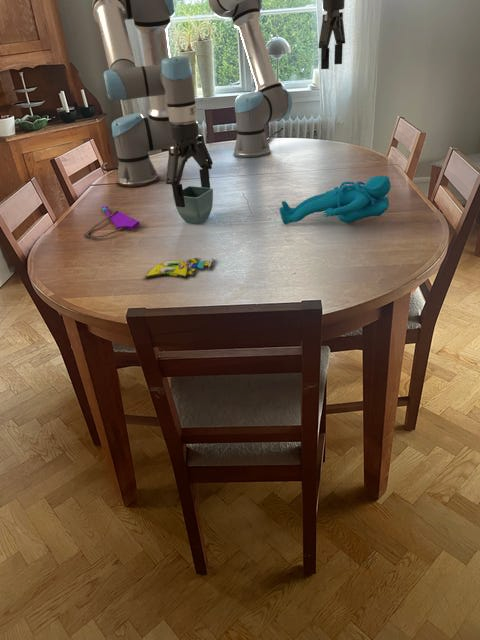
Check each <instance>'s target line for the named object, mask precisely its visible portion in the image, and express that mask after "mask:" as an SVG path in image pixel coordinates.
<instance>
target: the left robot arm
mask: <svg viewBox="0 0 480 640" xmlns="http://www.w3.org/2000/svg"><path fill="white" fill-rule="evenodd" d="M91 9H92V15H93V18H94V19H93V20H94V22H96V24H97V25H98V26H99V30H100V35H101V39H102V44H103V49H104V53H105V57H106V63H107V66H108V69H107V70H104V71H103V80H104V85H105V89H106V93H107V94H106V95H107V98H108V99H109V100H110V101H127V100H135V99H140V98H148V97H149V98H150V105H151V107H150V108H149V109H148V110H147V114H148V116H146V117H144V116H143V114H142V113H138V112H137V113H130V114H127V115H124V116H120V117H119V118H116V119H114V120H113V121H112V122H111V131H112V137H113V141H114V145H115V151H116V155H117V160H118V166H116V167H110V168H105V167H107V166H109V165H108V163H107V162H103V163H102V165H101V170H102V171H104V172H111V171H117V179H116V180H117V183H118V186H120V187H123V188H124V187H125V188H136V187H137V188H138V187H145V186H147V185H148V186H149V185H151V184H154V183H156V182H157V181H158V180H159V176H158V172H157V169H156V168H155V166H154V163H153V161H152V159H151V156H150V152H153V151H159V150H160V151H161V150H168V151H167V152H168V159H167V168H166V177H165V184H166V185H171V188H172V189H171V190H172V196H173V195H174V197H175V201H174V204H175V203H176V204H175V207H176V206H177V207H185V202H184V195H183V189H184V188H183V183H181V179H182V176H183V173H184V170H185V165H186V163H187V162H188V160H189V159H191V158H193V159H194V161H195V162H196V163H197V164H198V166H199V167H200V168H199V178H200V187H204V188H211V181H210V170H212V168H213V166H212V165H213V164H214V163H213V160H212V157H211V154H210V152H209V150H208V147H207V145H206V143H205V137H204V135H201V134H200V129H199V122H198V121H197V119H198V114H197V107H196V97H195V91H194V90H195V88H194V79H193V68H192V64H191V59H190V57H188V56H186V55H184V56H183V55H180V56H179V55H177V56H171V53H170V46H169V37H168V36H169V35H168V28H169V27H170V25H171V23H172V22H171V17H173V16H174V15H175V13H176V11H175V3H174V0H92V3H91ZM126 20H127V21H129V20H133V24H134V27H136V28H137V29H138V30H139V32H140V38H141V45H142V52H143V59H144V65H141V66H137V64H136V59H135V55H134V51H133V48H132V44H131V39H130V36H129V32H128V29H127V24H126Z"/></svg>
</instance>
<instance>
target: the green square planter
mask: <svg viewBox="0 0 480 640" xmlns="http://www.w3.org/2000/svg"><path fill="white" fill-rule="evenodd" d="M183 195H184V202H185V207H177V206H176V203H175V197H174V195H173V194H172V197H173V200H174V204H175V208H176V210H177V213H178V214H179V216H180V217H181V219H182V220H183V221H184V222H185V223H189V224H195V225H200V224H202V223H203V222H205V221H206V220H207V219H208V218H209V217H210V215H211V212H212V210H213V206H214V205H213V204H214V188H211V187H210V188H204V187H201V186H195V185H188V186H186V187H184V188H183Z"/></svg>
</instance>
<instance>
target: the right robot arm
mask: <svg viewBox="0 0 480 640" xmlns="http://www.w3.org/2000/svg"><path fill="white" fill-rule="evenodd" d="M208 4H209V8H210V10H211V12H212V13H213V14H214V15H215V16H217V18H222V19H231V22H232V23H233V26H234V28H237V29H238V30H239V33H240V37H241V40H242V43H243V47H244V50H245V53H246V56H247V60H248V63H249V66H250V70H251V73H252V75H253V79H254V82H255V86H256V90H254V91H249V92H244V93H242V94H239V95H238V96H237V97H235V99H234V100H235V101H234V113H235V120H236V121H235V123H236V125H235V126H236V139H235V144H234V149H233V153H234V154H233V155H234V156H236V157H239V158H258V157H262V156H267V155H268V154H270V151H271V148H270V144H269V141H270V138H271V137H272V136H274V135H276V134H278V133H280V132H281V131H282V130H284V128H283V127H282V126H281V127H280V128H279V129H278V130H276V131H274V132H272V133H271V134H270V135H269V136H267V135H266V133H265V125H266V124H270V123H274V122H279V121H281V120H284V119H286V118H287V117H288V116H289V115H290V114H291V110H292V108H293V98H292V95H291V93H290V91H288V90H287V89H285V88H284V87H283V85H282V82H281V81H278V80H277V77H276V75H275V72H274V68H273V65H272V64H273V63H272V61H271V58H270V54H269V51H268V47H267V43H266V41H265V38H264V34H263V30H262V28H261V25H260V20H259V19H260V17H261V10H262V7H263V0H208ZM344 9H345V0H321V10H322V12H326V13H323V14H322V20H321V21H322V22H321V27H320V34H319V40H318V47H317V48H318V49H320V70H329V69H330V47H329V45H330V42H331V37H332V34H333V36H334V41H335V44H334V60H333V61H334V63H333V64H334V65H342V64H343V48H344V47H343V45H345V44H346V35H345V25H344V12H342V11H343V10H344ZM341 10H342V11H341Z"/></svg>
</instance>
